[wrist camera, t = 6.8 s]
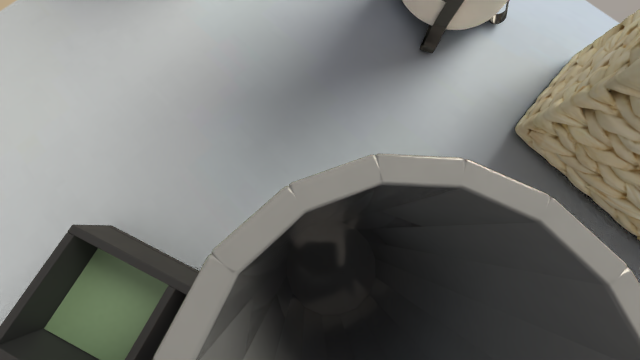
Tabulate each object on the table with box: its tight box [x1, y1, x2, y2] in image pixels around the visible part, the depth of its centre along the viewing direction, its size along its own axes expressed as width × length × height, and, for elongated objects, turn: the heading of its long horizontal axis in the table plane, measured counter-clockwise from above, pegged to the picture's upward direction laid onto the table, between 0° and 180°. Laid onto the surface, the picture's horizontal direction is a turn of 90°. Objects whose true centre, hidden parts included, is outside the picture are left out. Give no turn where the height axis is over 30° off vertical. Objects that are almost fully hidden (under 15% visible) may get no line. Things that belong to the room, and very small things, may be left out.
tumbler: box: [153, 154, 640, 360], centre depth 9 cm, size 6×6×13 cm
